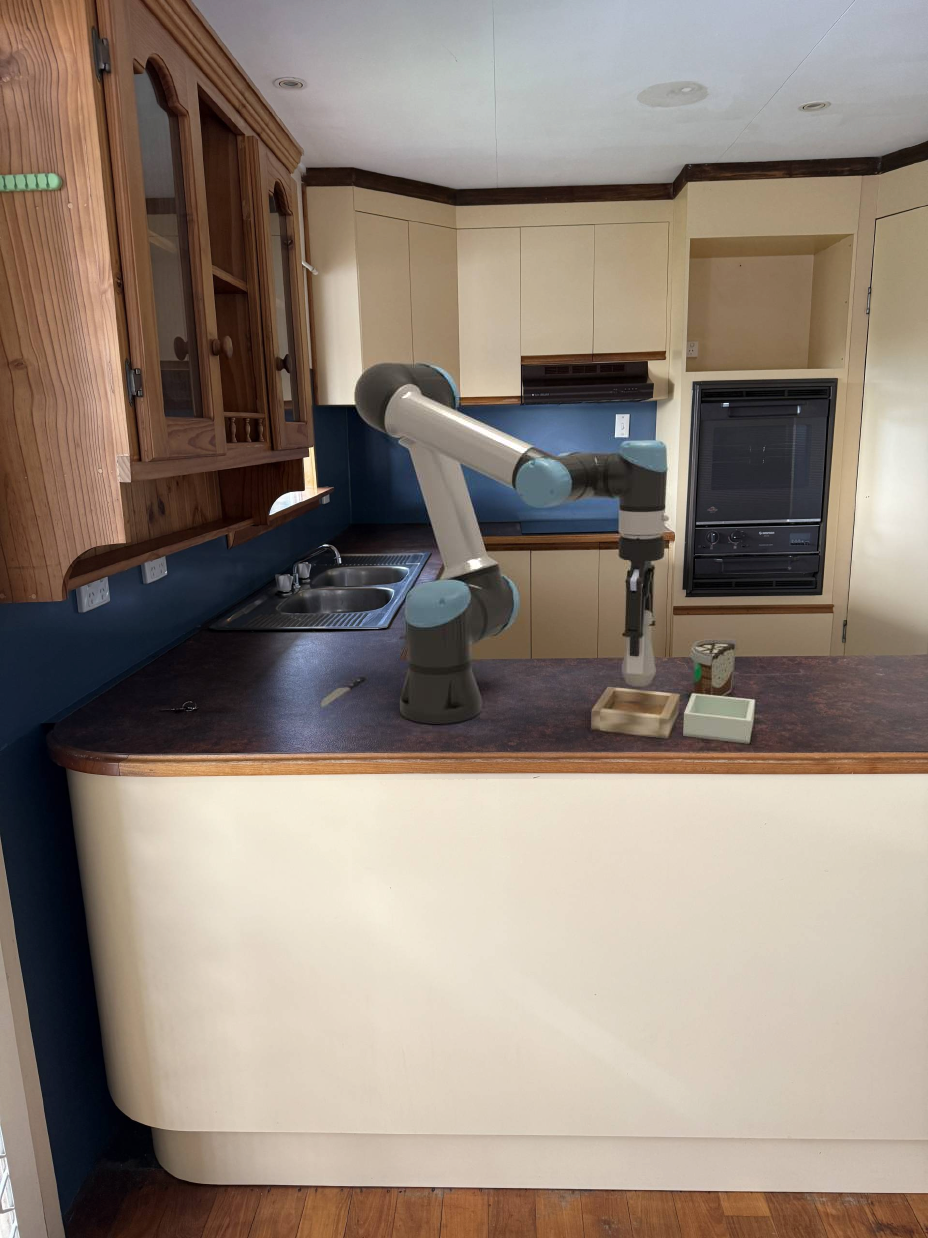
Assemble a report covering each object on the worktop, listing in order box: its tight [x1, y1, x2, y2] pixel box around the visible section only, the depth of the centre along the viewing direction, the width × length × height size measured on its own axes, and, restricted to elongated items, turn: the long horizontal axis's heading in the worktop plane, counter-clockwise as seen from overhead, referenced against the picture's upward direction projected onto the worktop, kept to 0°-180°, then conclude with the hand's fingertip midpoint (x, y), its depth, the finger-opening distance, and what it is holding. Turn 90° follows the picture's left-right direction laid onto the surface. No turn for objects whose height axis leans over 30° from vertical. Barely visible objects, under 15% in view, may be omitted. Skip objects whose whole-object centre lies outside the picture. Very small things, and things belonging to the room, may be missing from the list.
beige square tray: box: [590, 686, 681, 740], centre depth 147 cm, size 13×13×4 cm
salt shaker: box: [621, 610, 657, 687], centre depth 144 cm, size 6×6×13 cm
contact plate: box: [611, 701, 664, 715], centre depth 147 cm, size 9×9×1 cm
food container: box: [689, 638, 738, 697], centre depth 158 cm, size 12×6×10 cm, turn 141°
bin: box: [682, 692, 756, 745], centre depth 143 cm, size 11×11×4 cm
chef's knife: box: [320, 676, 366, 707], centre depth 165 cm, size 19×1×3 cm
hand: (638, 667), depth 145 cm, fingers closed on salt shaker, 6 cm apart
